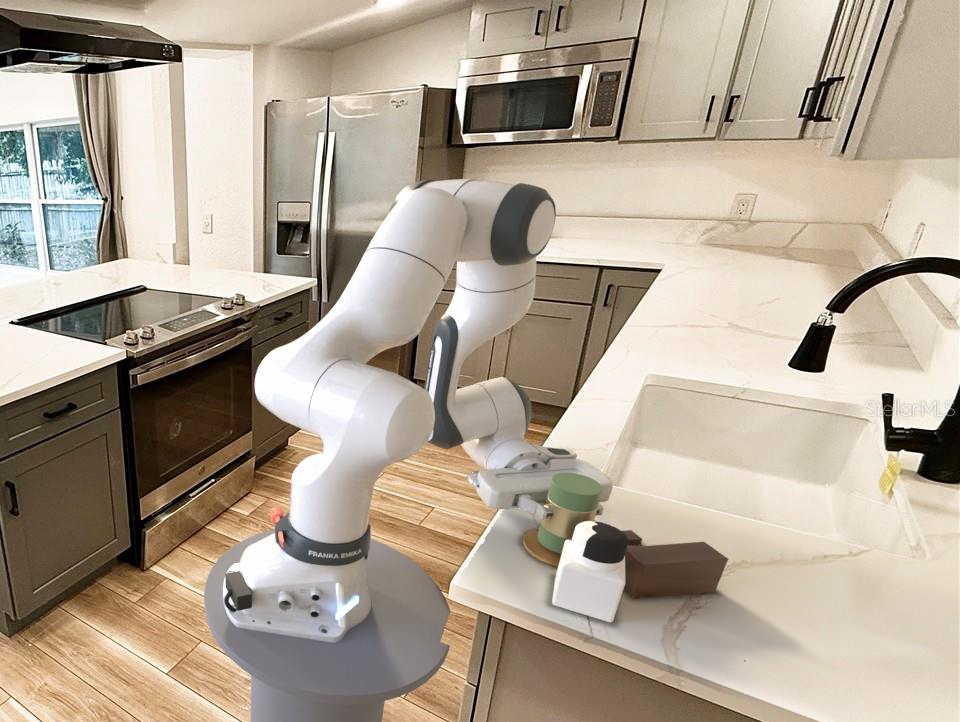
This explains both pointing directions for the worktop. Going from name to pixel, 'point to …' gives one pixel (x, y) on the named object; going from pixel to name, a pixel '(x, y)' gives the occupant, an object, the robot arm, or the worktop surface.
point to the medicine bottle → (592, 571)
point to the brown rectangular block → (671, 568)
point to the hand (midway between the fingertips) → (573, 513)
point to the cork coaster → (540, 549)
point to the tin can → (568, 508)
